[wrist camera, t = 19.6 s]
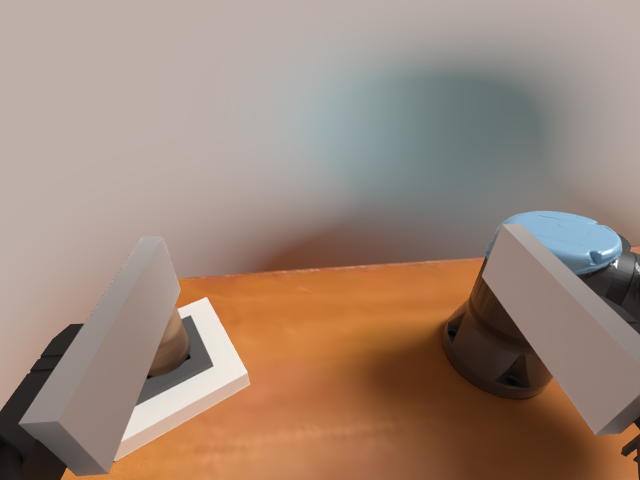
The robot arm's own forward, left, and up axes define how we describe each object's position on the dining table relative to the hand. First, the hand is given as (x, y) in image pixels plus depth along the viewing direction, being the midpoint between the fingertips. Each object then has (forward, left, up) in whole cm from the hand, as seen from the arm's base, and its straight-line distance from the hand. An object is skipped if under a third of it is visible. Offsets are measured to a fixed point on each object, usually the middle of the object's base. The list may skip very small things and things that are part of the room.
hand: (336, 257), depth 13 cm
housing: (+9, -27, -35) cm, 45 cm away
